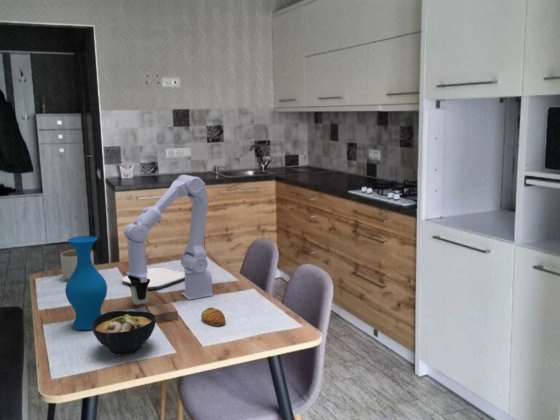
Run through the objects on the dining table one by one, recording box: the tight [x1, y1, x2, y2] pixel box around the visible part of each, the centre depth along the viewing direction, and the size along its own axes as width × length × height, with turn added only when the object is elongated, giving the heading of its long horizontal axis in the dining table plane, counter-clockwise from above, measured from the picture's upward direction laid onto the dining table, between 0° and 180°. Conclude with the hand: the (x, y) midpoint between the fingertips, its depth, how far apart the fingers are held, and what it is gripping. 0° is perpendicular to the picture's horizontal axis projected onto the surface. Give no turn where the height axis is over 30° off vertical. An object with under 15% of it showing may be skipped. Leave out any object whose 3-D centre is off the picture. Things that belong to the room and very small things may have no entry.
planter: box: [59, 248, 95, 281], centre depth 220 cm, size 12×12×11 cm
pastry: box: [200, 306, 226, 327], centre depth 173 cm, size 9×7×4 cm
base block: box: [146, 303, 179, 324], centre depth 177 cm, size 8×8×4 cm
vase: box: [64, 235, 108, 331], centre depth 170 cm, size 12×13×28 cm
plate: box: [121, 267, 185, 290], centre depth 217 cm, size 21×21×2 cm
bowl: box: [92, 310, 156, 356], centre depth 153 cm, size 17×17×10 cm
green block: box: [130, 285, 149, 305], centre depth 186 cm, size 4×4×5 cm
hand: (139, 297), depth 186 cm, fingers closed on green block, 4 cm apart
